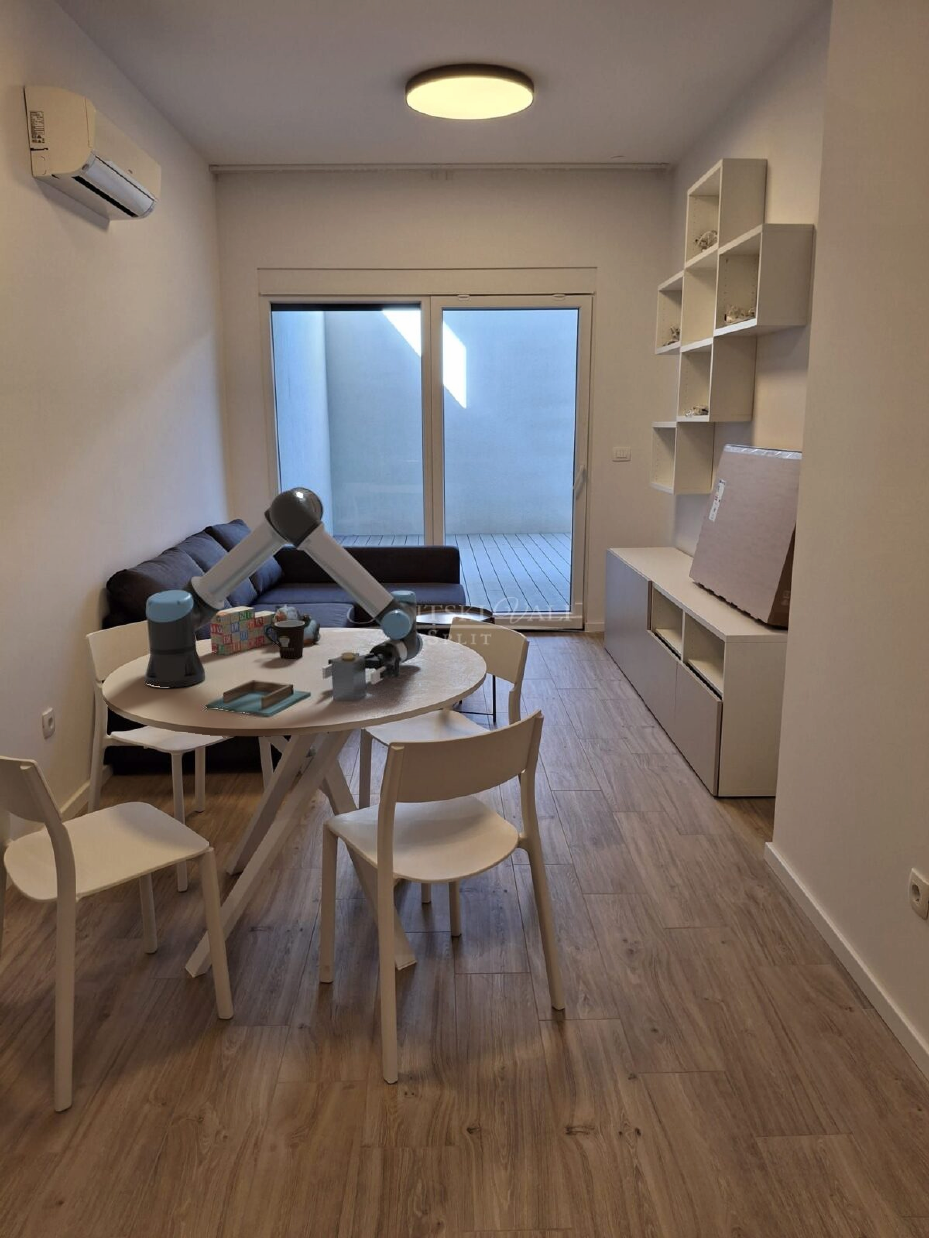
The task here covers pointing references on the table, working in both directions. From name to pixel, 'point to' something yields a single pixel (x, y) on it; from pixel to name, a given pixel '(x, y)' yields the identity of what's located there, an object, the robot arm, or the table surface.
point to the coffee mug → (289, 638)
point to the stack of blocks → (240, 629)
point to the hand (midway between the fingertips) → (347, 676)
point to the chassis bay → (259, 698)
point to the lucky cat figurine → (292, 614)
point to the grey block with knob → (348, 677)
